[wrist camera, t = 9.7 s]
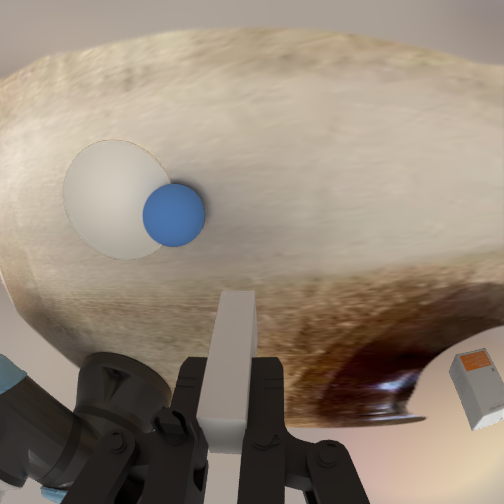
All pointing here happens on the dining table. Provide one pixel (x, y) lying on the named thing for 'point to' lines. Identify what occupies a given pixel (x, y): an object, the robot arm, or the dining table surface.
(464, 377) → the skincare box
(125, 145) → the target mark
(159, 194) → the ball
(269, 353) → the dining table surface
